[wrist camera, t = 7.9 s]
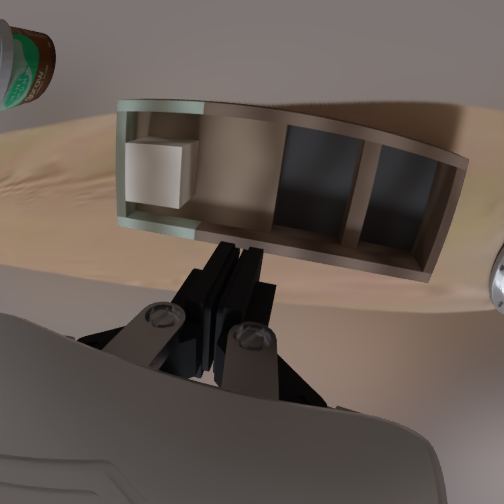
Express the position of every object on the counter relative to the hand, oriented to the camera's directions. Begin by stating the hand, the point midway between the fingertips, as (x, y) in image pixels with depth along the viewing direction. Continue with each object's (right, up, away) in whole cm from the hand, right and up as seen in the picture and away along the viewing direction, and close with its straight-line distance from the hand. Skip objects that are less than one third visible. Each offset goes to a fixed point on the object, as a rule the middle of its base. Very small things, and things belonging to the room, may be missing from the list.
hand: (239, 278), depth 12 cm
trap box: (+4, +8, +16) cm, 18 cm away
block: (-7, +9, +15) cm, 19 cm away
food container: (-25, +22, +14) cm, 36 cm away
